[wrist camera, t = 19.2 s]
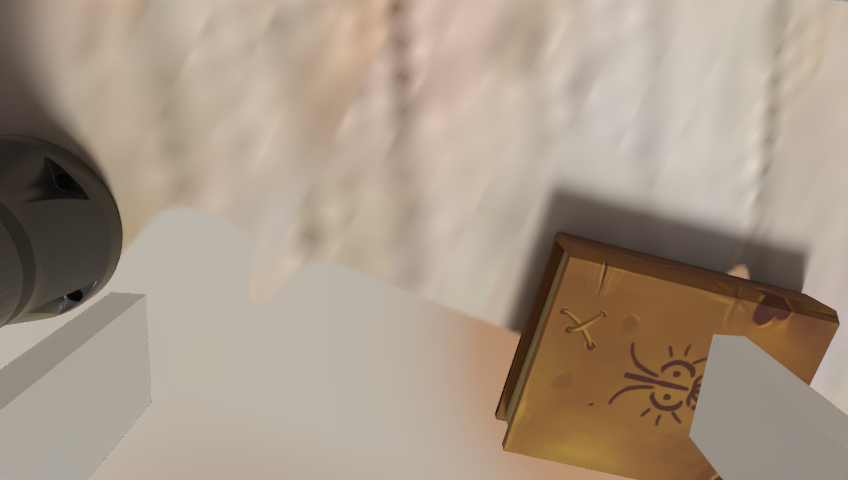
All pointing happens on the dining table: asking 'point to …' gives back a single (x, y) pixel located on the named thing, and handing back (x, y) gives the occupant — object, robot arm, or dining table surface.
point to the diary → (639, 356)
